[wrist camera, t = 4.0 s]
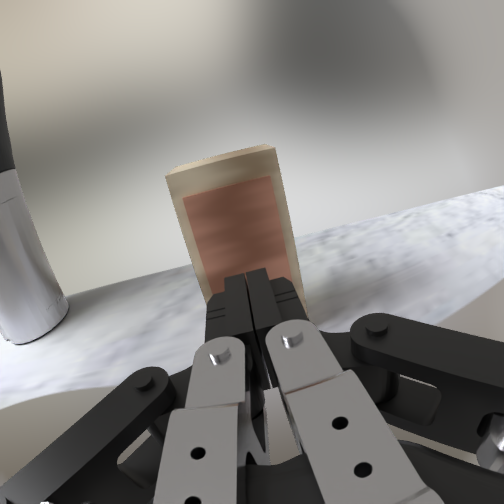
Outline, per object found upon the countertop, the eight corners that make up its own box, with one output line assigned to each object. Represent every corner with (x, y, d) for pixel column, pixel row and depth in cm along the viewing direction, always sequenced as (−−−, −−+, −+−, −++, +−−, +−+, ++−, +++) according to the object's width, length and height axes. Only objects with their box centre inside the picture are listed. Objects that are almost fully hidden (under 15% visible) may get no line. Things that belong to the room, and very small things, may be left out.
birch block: (223, 353, 20) (164, 176, 16) (222, 318, 24) (175, 167, 20) (310, 331, 20) (275, 147, 16) (297, 300, 24) (264, 144, 20)
